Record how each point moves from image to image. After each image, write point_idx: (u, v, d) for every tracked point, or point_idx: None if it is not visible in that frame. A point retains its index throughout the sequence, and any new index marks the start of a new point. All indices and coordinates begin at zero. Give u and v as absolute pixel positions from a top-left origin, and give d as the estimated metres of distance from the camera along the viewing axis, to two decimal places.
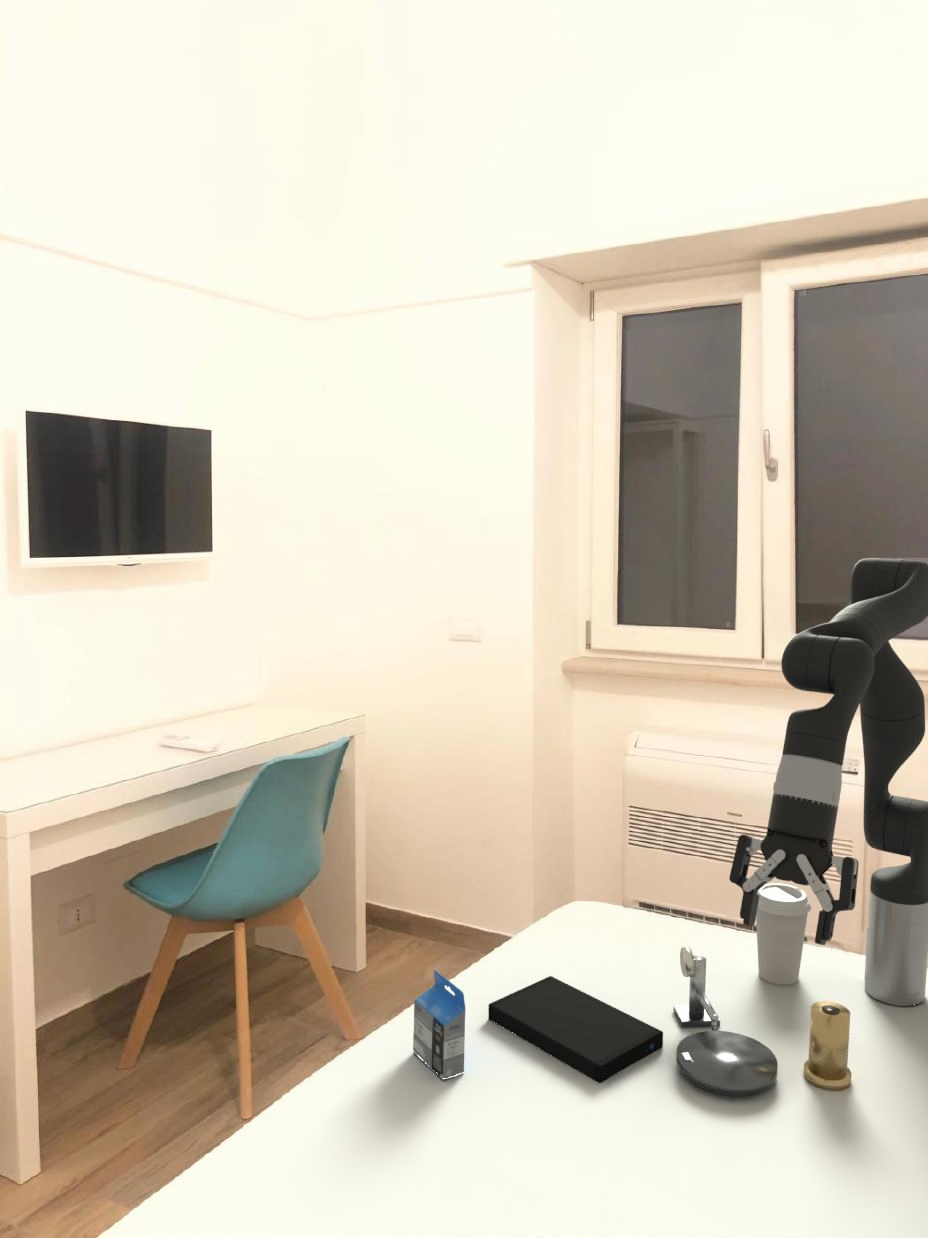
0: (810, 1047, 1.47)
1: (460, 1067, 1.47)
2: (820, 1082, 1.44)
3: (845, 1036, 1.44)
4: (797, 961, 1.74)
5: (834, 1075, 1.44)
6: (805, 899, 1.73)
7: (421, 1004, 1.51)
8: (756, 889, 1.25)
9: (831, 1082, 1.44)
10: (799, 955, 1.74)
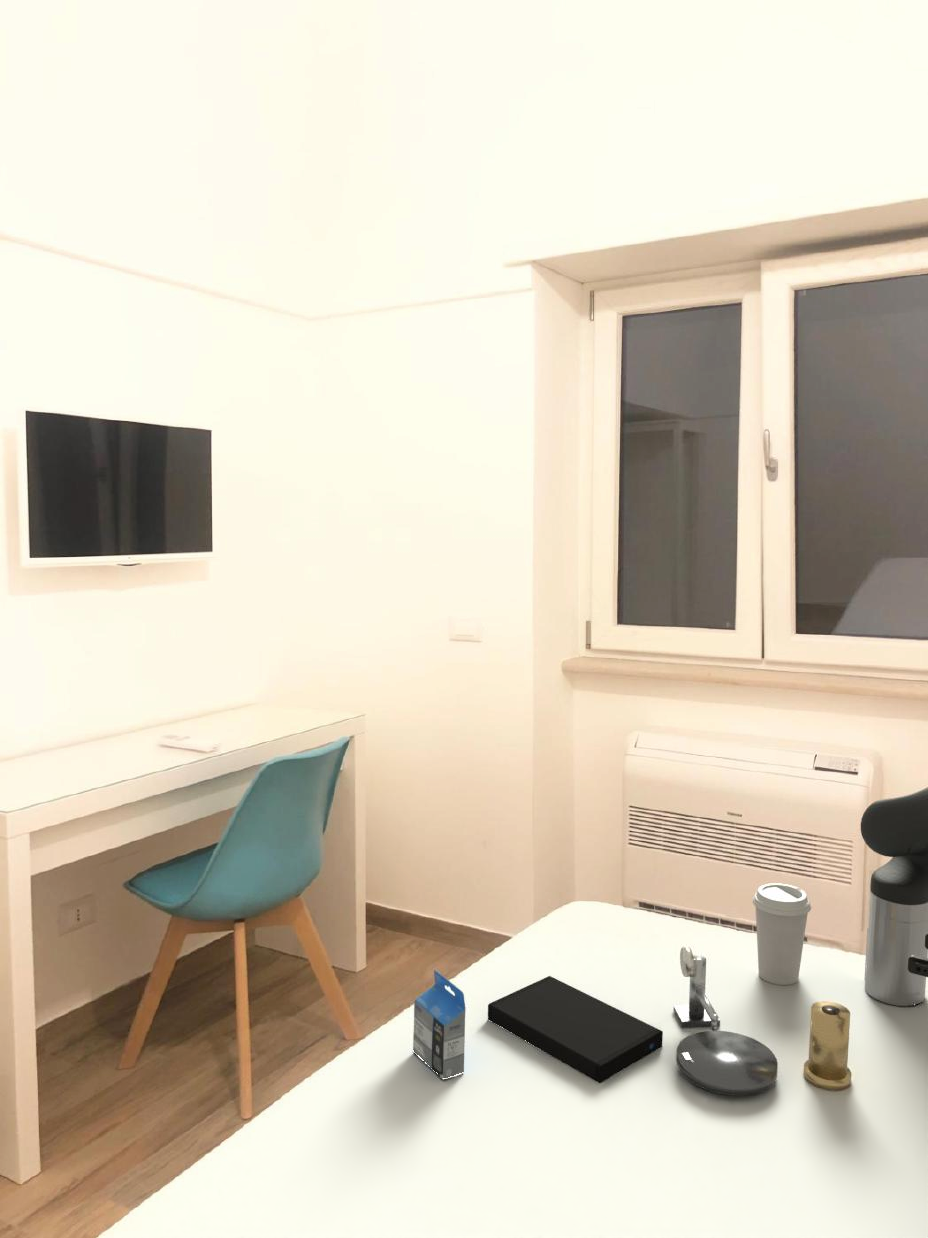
0: (810, 1047, 1.47)
1: (460, 1067, 1.47)
2: (820, 1082, 1.44)
3: (845, 1036, 1.44)
4: (797, 961, 1.74)
5: (834, 1075, 1.44)
6: (805, 899, 1.73)
7: (421, 1004, 1.51)
8: None
9: (831, 1082, 1.44)
10: (799, 955, 1.74)
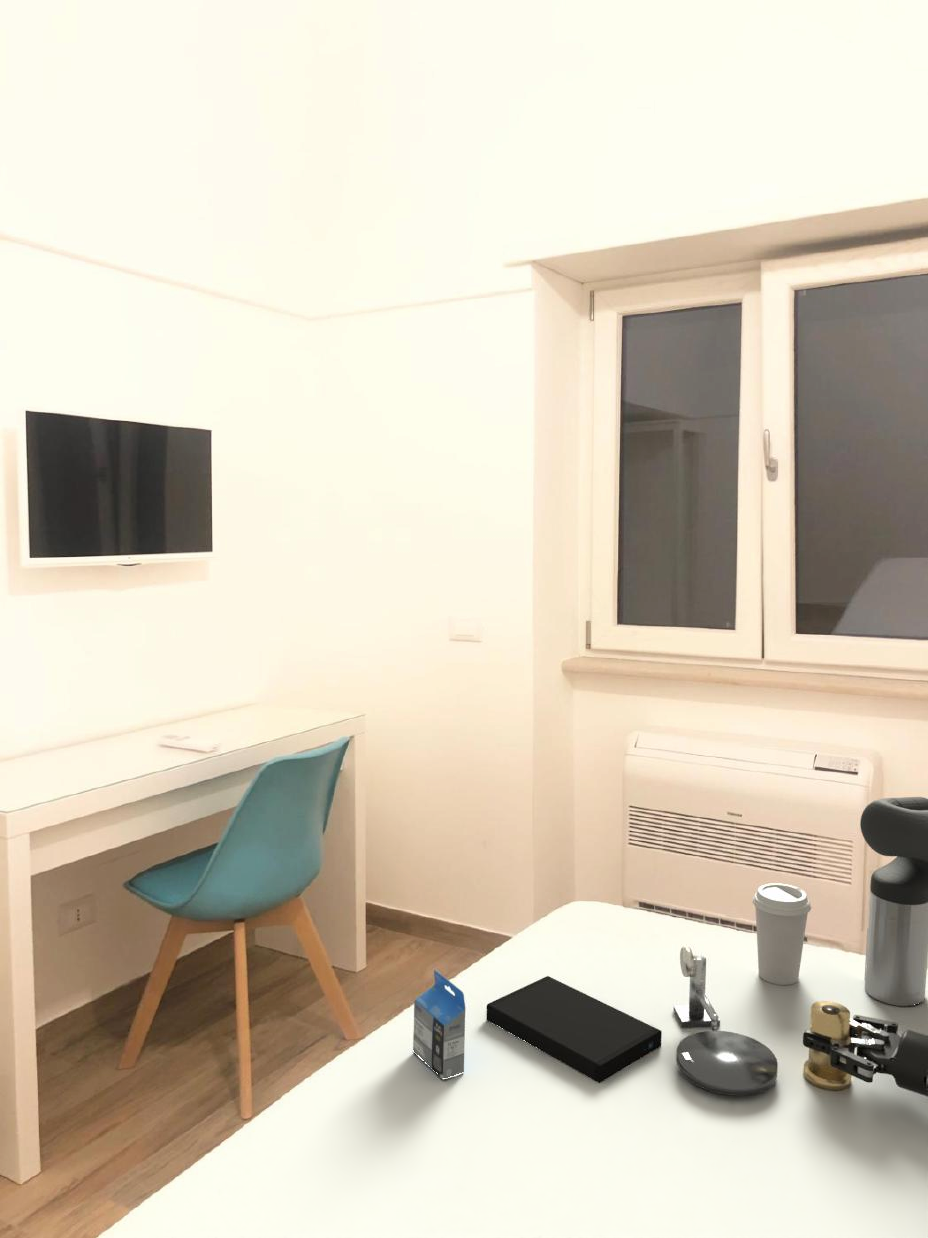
0: None
1: (460, 1067, 1.47)
2: (820, 1082, 1.44)
3: (845, 1035, 1.44)
4: (797, 961, 1.74)
5: (834, 1075, 1.44)
6: (805, 899, 1.73)
7: (421, 1004, 1.51)
8: None
9: (830, 1082, 1.44)
10: (799, 955, 1.74)
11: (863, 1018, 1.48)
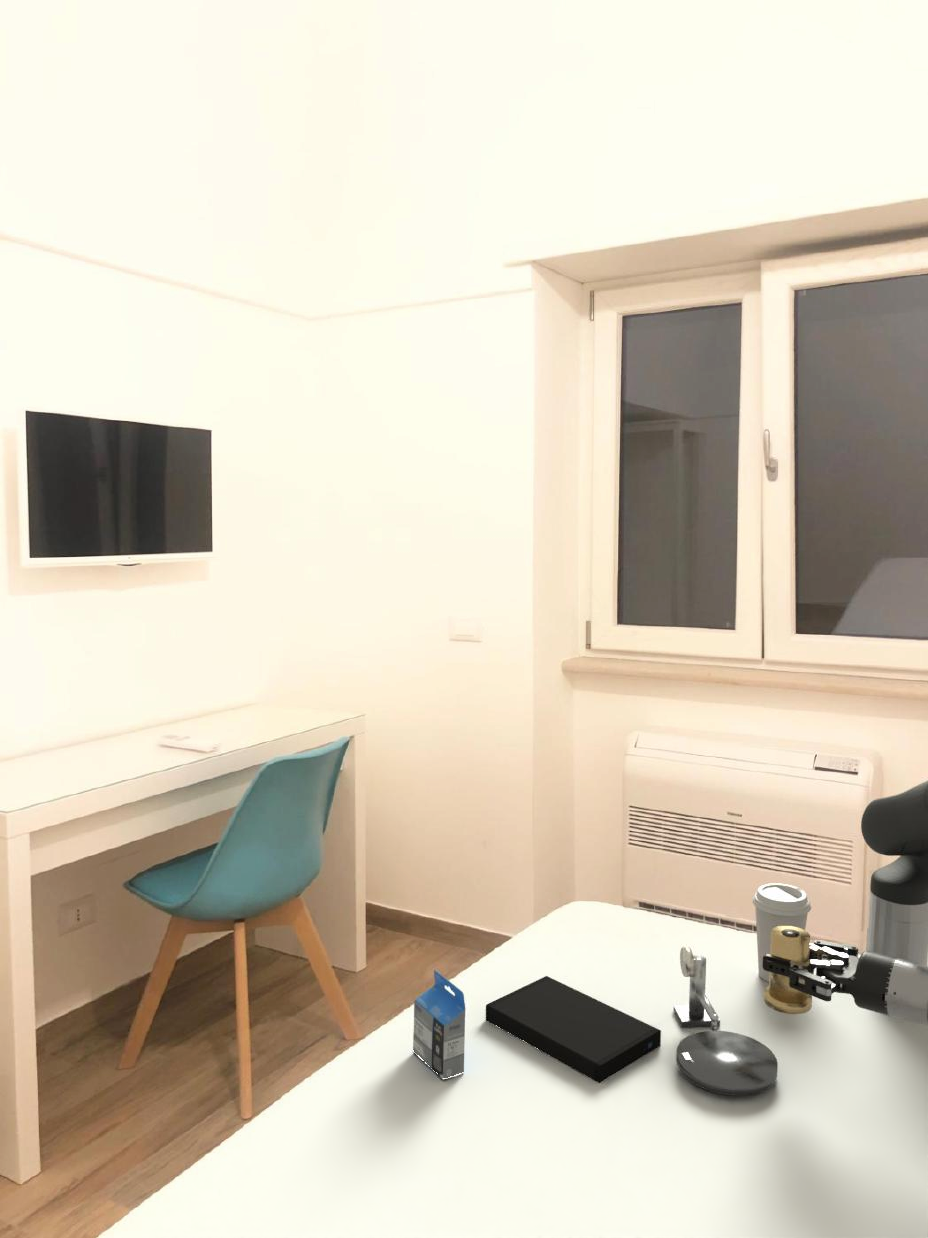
0: None
1: (460, 1067, 1.47)
2: (780, 1005, 1.43)
3: (805, 958, 1.43)
4: None
5: (794, 998, 1.43)
6: (805, 899, 1.73)
7: (421, 1004, 1.51)
8: None
9: (791, 1005, 1.43)
10: None
11: (824, 942, 1.47)
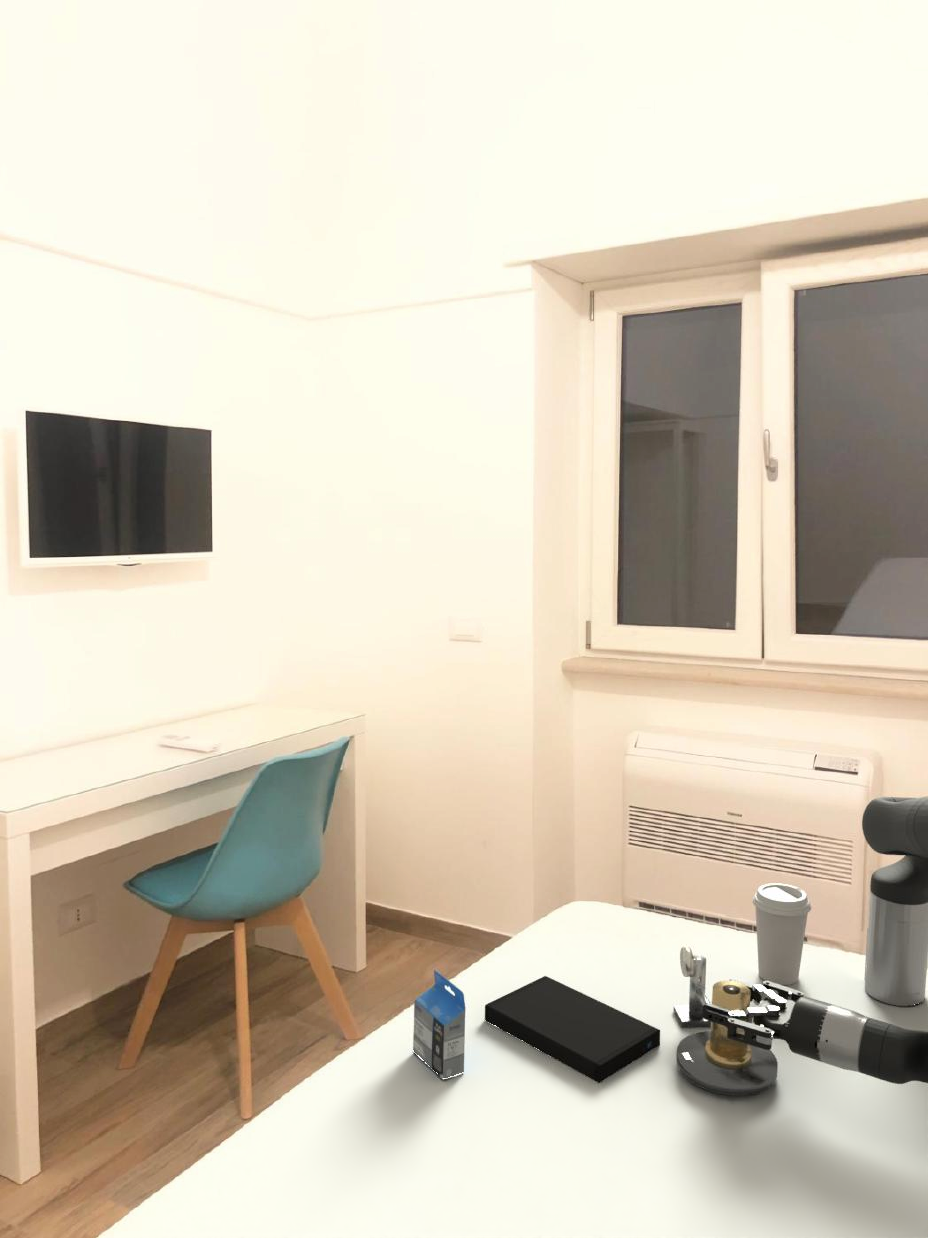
0: (711, 1026, 1.47)
1: (460, 1067, 1.47)
2: (720, 1060, 1.45)
3: None
4: (797, 961, 1.74)
5: (733, 1054, 1.45)
6: (805, 899, 1.73)
7: (421, 1004, 1.51)
8: None
9: (730, 1060, 1.45)
10: (799, 955, 1.74)
11: (772, 984, 1.49)
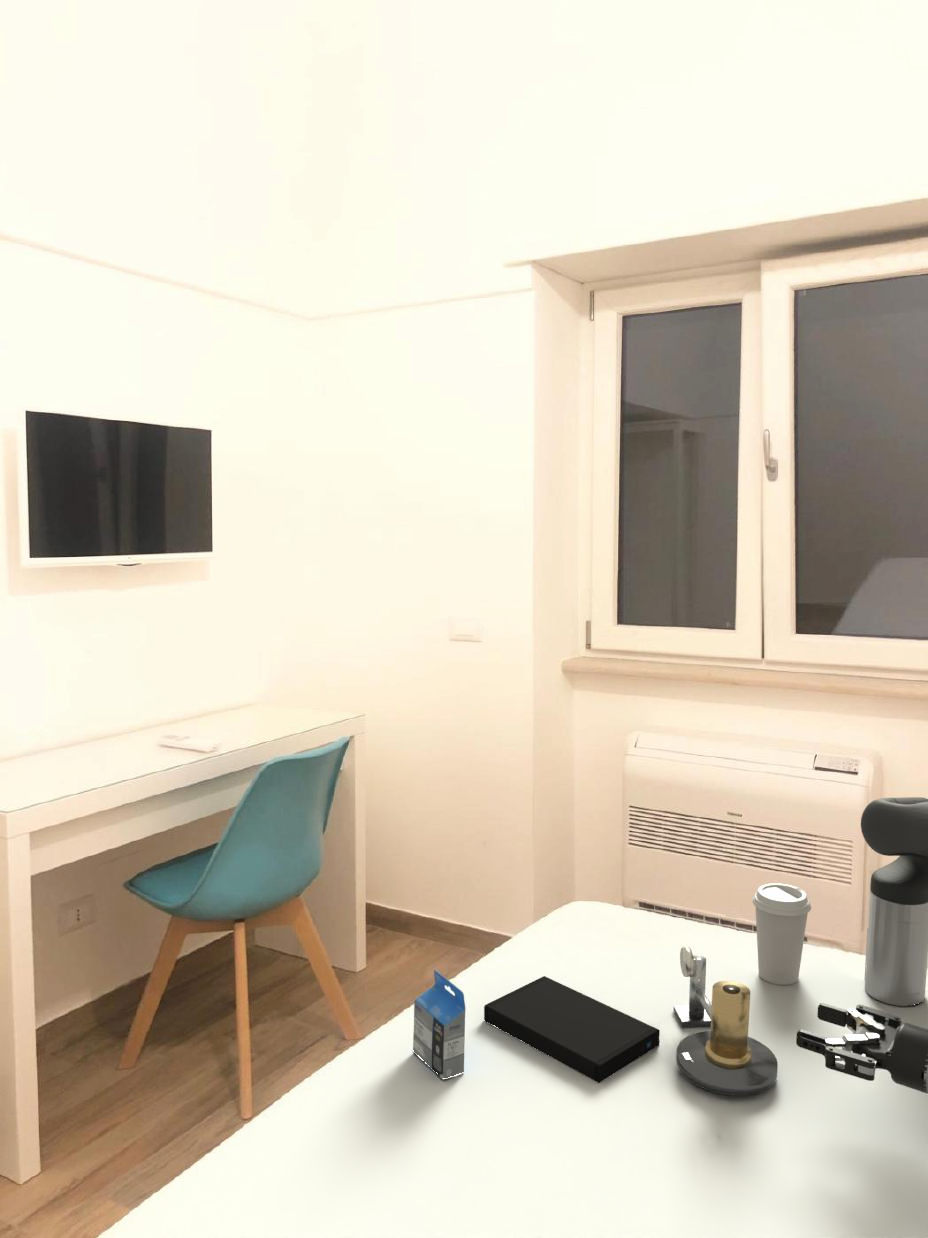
0: (711, 1026, 1.47)
1: (460, 1067, 1.47)
2: (720, 1061, 1.45)
3: (745, 1014, 1.45)
4: (797, 961, 1.74)
5: (734, 1054, 1.45)
6: (805, 899, 1.73)
7: (421, 1004, 1.51)
8: None
9: (730, 1060, 1.45)
10: (799, 955, 1.74)
11: (866, 1009, 1.42)
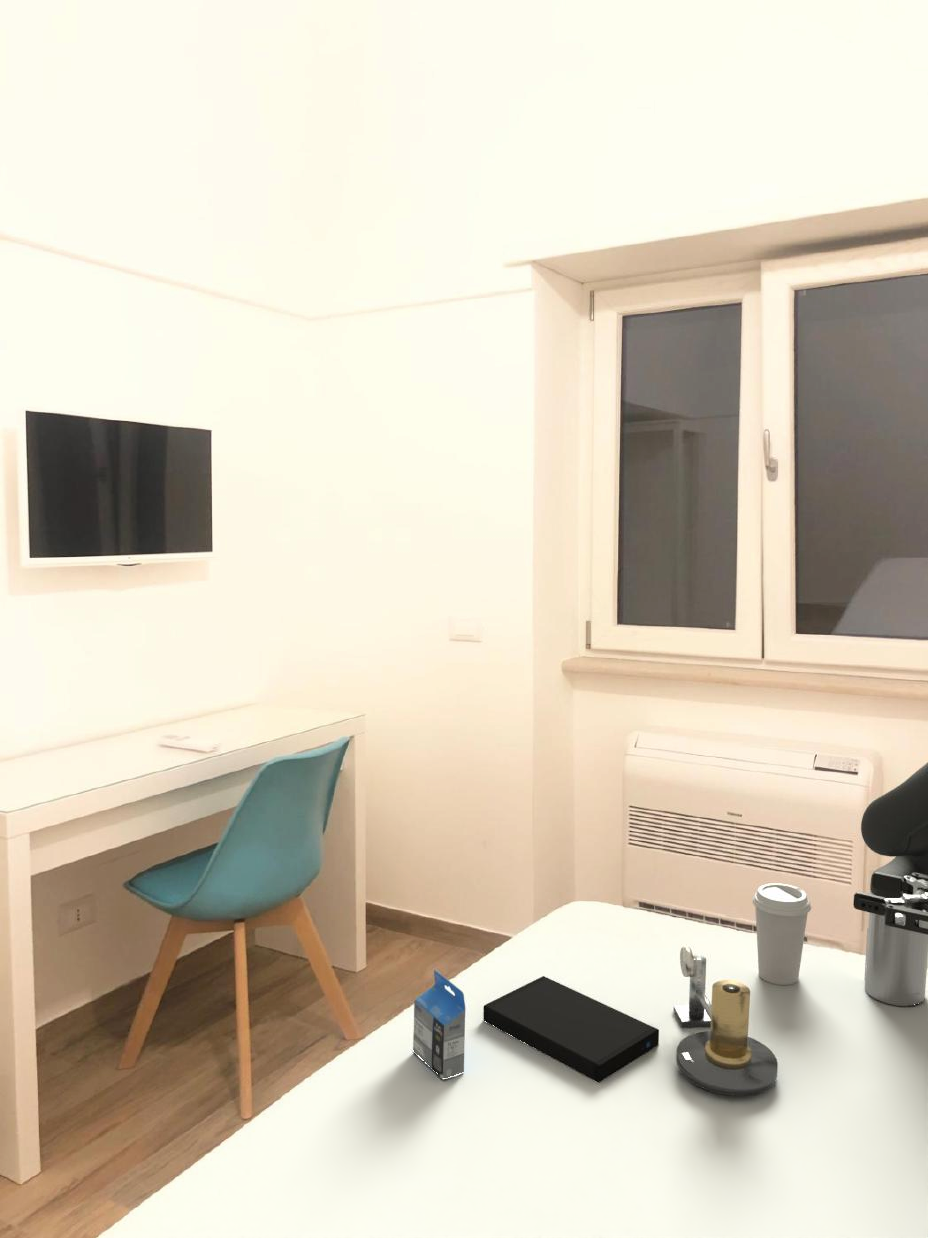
0: (711, 1026, 1.47)
1: (460, 1067, 1.47)
2: (720, 1060, 1.45)
3: (745, 1013, 1.45)
4: (797, 961, 1.74)
5: (734, 1053, 1.45)
6: (805, 899, 1.73)
7: (421, 1004, 1.51)
8: None
9: (731, 1060, 1.45)
10: (799, 955, 1.74)
11: (922, 876, 1.40)
